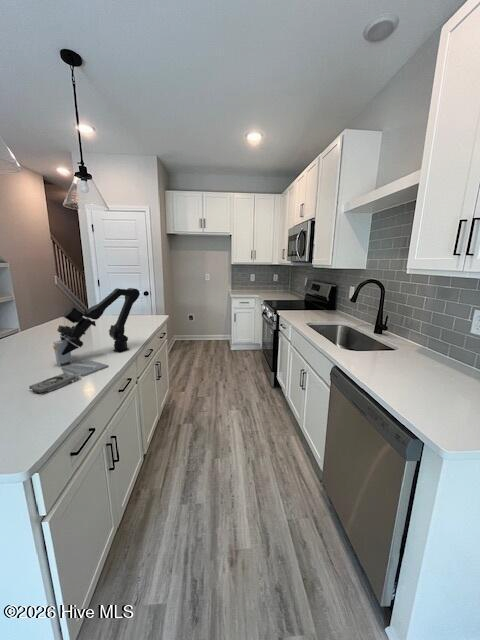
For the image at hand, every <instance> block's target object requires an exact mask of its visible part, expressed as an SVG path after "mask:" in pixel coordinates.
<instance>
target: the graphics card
mask: <svg viewBox="0 0 480 640" xmlns="http://www.w3.org/2000/svg"><path fill="white" fill-rule="evenodd" d="M80 375H81V373H80V374H77V373H74V372H70V371H66V370H62V373H61V374H58V375H55V376H51V377H50V378H47V379H45V380H42V381H39V382H36V383H35V384H32V385H29V386H28V387H29V390H32V391H33V392H38V393H45V392H47V393H49V392H52V391H54V390H56V389H59V388H62V387H68V386H70V385H72V384H75V383H76V382H80V381H81V380H82V376H80Z"/></svg>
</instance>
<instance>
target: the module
mask: <svg viewBox="0 0 480 640" xmlns="http://www.w3.org/2000/svg"><path fill="white" fill-rule="evenodd" d="M67 341H68V340H66V339H65V340H61V339H60V340H56V341H53V345H52V349H53V351H54V354H55V358H56V359H55V360H56V365H57V366H58V367H59V368H61V367H62V364H63V363H67V362H68V363H69V365H70V364H72V363H73V361H72V360H73V359H72V351H71V352H69V353H67V354H65V355H62V352H63V351H64V349H65V347H66V346H67Z"/></svg>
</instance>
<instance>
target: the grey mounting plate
mask: <svg viewBox="0 0 480 640" xmlns="http://www.w3.org/2000/svg"><path fill="white" fill-rule="evenodd" d="M108 368H109V364H105V363H102V362H98V361H94V360H92V359H91V360H90V359H88V358H86V359H82V360H79V361H77V362H72V364H70V363H69V365H65V366H61V367H60V369H61V370H62V371H63V370H66V371H70V372H74V373H77V374H80V373H81V375H80V376H81V378H82V377H86V376H88V375H91V374H95V373H97V372H99V370H100V371H102V370H106V369H108Z"/></svg>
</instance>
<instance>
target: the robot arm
mask: <svg viewBox="0 0 480 640" xmlns="http://www.w3.org/2000/svg"><path fill="white" fill-rule="evenodd" d="M140 295H141V293H140V290H139V289H138V288H133V287H129V288H125V289H124V288H119V287H117V288H115V289H114V290H113V291H112V292H110V293H109V294H108V295H107V296H106V297H105V298H103V299H102V300H101V301H100V302H98V303H97V304H95V305H92V306H90V307H89V308H88V309H86V310H85V311H80V310H78V309H77V308H76V307H74V306H72V307H71V308H69V309H68V310H66V311H65V312H64V314H63V316H62V317H63V318H64V319H66V320H67V321H69V322H70V323H72V324H76V325H72V326H68V325H65V326H64V325H58V328H57V331H56V332H58V333H60V334H59V335H60V336H59V338H60V340H65V339H66V340H68V341H67V346H66V347H65V349H64V351H63V352H62V355H65V354H67V353H69V352H71V353H72V352H73V351H75V350H77V349H80V348H81V347H83V346H84V342H83V340H81V337H82V336H83V335H84V336H85V335H86V334H87V331H88V330H89V329H90V327H92V326H93V327H96V326H97V325H96V321H97V320H99V319H100V318H101V317H102V315H103V314H104V312H105V311H106V309H108V307H109V306H111V305H112V304H113V303H114V302H115V301H117V300H118V299H119V298H120V297H122V296H124V303H123V305H122V308H121V310H120V313H119V315H118V318H117V320H116V322H115V324H114V325H113V324H112V325H110V329H109V330H108V334H109V337H110V338H112V340H113V343H114V344H113V348H114V349H113V351H114V352H118V353H124V352H126V351H128V350H130V348H129V347H128V340H129V336H126V335H125V325H126V324H127V323H126V322H127V320H128V317H129V315H130V313H131V311H132V308H133V305H134V303H136V301H138V299H139V297H140Z"/></svg>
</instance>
